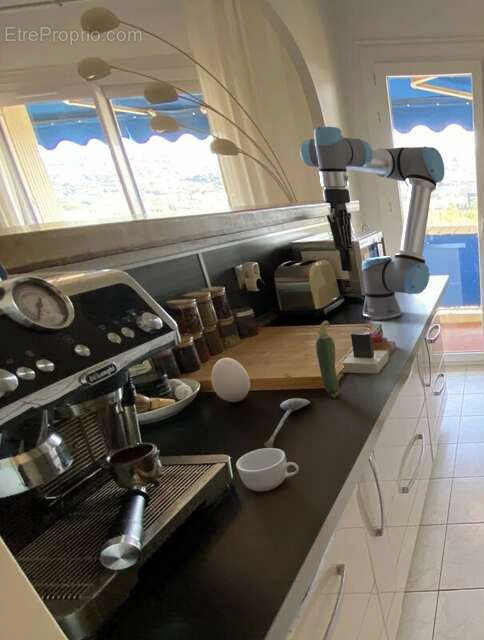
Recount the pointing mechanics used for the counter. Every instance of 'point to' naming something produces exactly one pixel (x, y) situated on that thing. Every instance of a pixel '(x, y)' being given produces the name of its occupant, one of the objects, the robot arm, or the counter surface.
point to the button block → (385, 346)
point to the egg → (230, 380)
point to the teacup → (264, 469)
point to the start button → (377, 338)
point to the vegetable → (327, 360)
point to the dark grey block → (362, 345)
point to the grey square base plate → (365, 363)
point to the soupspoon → (286, 415)
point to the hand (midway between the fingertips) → (347, 270)
